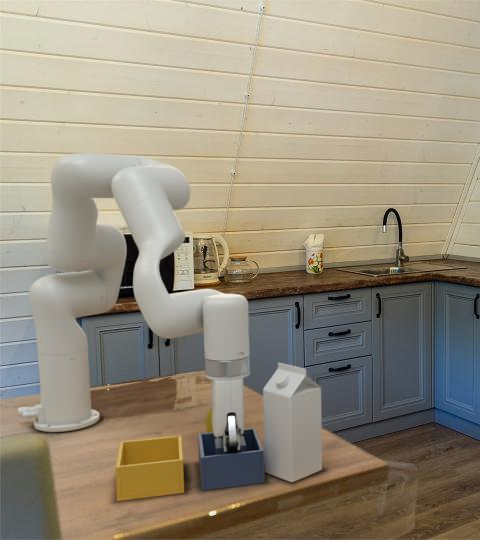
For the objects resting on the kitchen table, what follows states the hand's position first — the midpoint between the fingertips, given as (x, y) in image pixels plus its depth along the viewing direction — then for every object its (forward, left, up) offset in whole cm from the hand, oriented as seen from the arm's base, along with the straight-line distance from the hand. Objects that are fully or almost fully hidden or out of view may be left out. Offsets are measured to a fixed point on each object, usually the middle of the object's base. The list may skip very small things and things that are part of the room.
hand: (230, 467), depth 126 cm
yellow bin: (-13, 0, -1) cm, 13 cm away
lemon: (-1, +16, -1) cm, 16 cm away
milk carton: (+10, -3, -1) cm, 11 cm away
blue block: (0, 0, 0) cm, 0 cm away
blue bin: (0, 0, -1) cm, 1 cm away
